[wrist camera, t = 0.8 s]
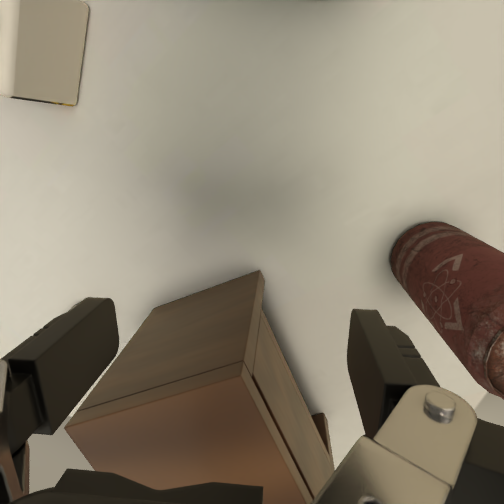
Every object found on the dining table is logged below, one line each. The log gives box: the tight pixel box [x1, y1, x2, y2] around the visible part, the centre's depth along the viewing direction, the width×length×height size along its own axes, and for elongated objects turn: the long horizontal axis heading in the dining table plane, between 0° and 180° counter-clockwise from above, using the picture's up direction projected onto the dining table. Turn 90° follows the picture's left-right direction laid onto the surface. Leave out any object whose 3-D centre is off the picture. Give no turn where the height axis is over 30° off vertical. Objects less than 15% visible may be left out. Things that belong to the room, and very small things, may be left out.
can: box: [391, 222, 504, 399], centre depth 21 cm, size 6×6×14 cm
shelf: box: [64, 270, 335, 504], centre depth 27 cm, size 18×11×14 cm, turn 23°
